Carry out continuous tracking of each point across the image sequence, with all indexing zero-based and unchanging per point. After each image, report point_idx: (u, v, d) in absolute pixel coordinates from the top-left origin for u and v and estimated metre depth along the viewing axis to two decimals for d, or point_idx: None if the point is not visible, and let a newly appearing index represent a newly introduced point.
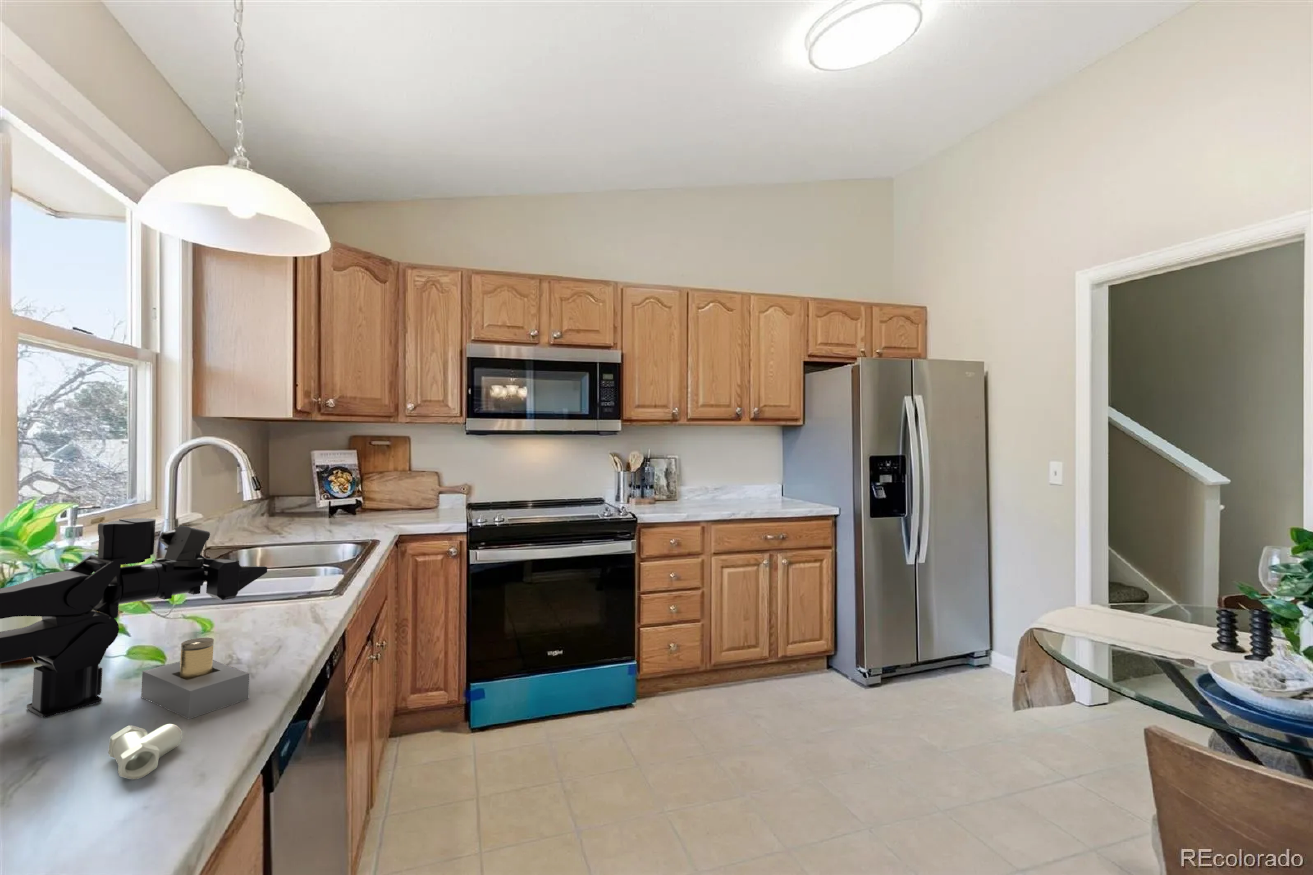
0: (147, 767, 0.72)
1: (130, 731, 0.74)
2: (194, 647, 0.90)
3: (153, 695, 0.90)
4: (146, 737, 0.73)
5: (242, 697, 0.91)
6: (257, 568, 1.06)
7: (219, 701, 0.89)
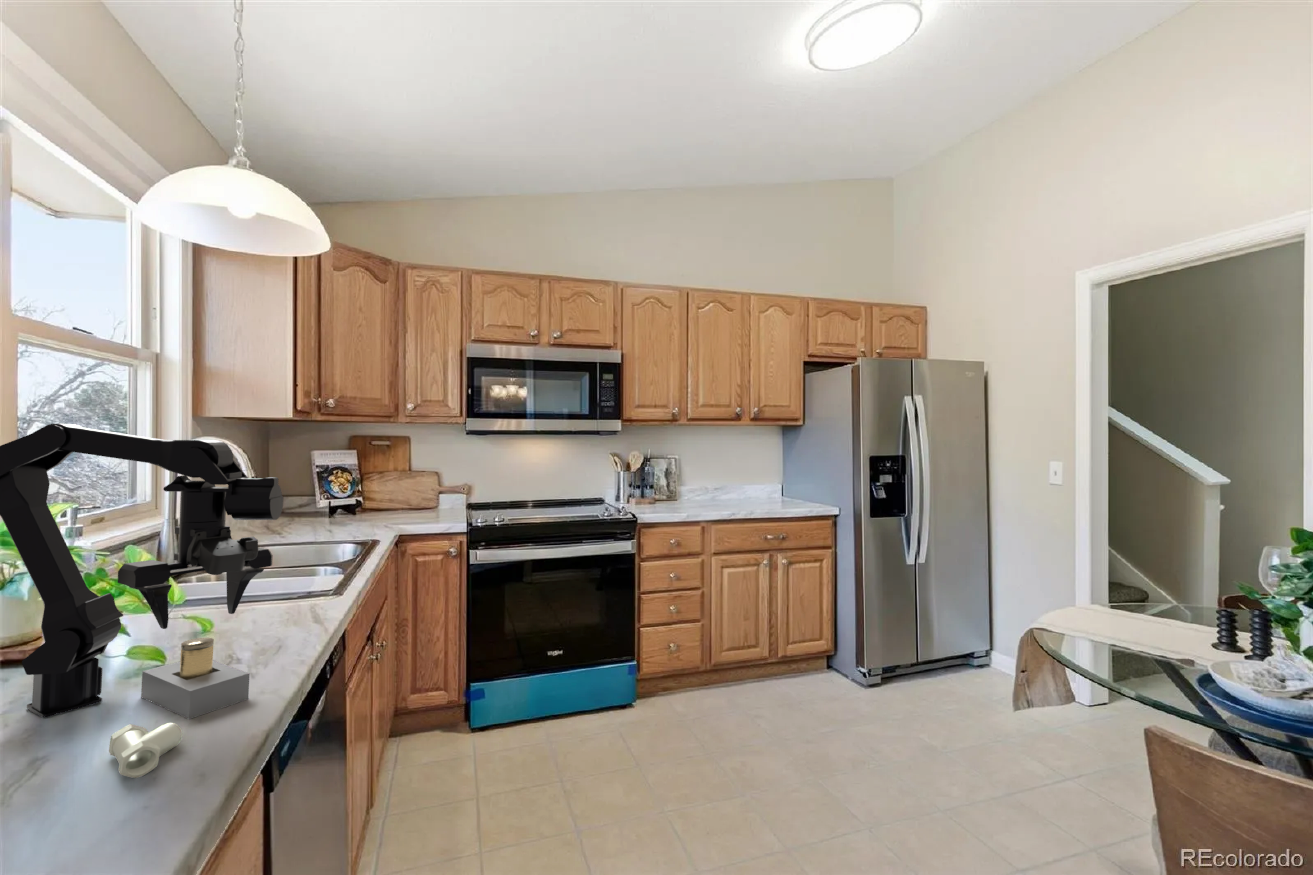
0: (147, 765, 0.72)
1: (131, 730, 0.75)
2: (194, 647, 0.90)
3: (153, 695, 0.90)
4: (147, 736, 0.74)
5: (242, 697, 0.91)
6: (160, 616, 0.87)
7: (219, 701, 0.89)
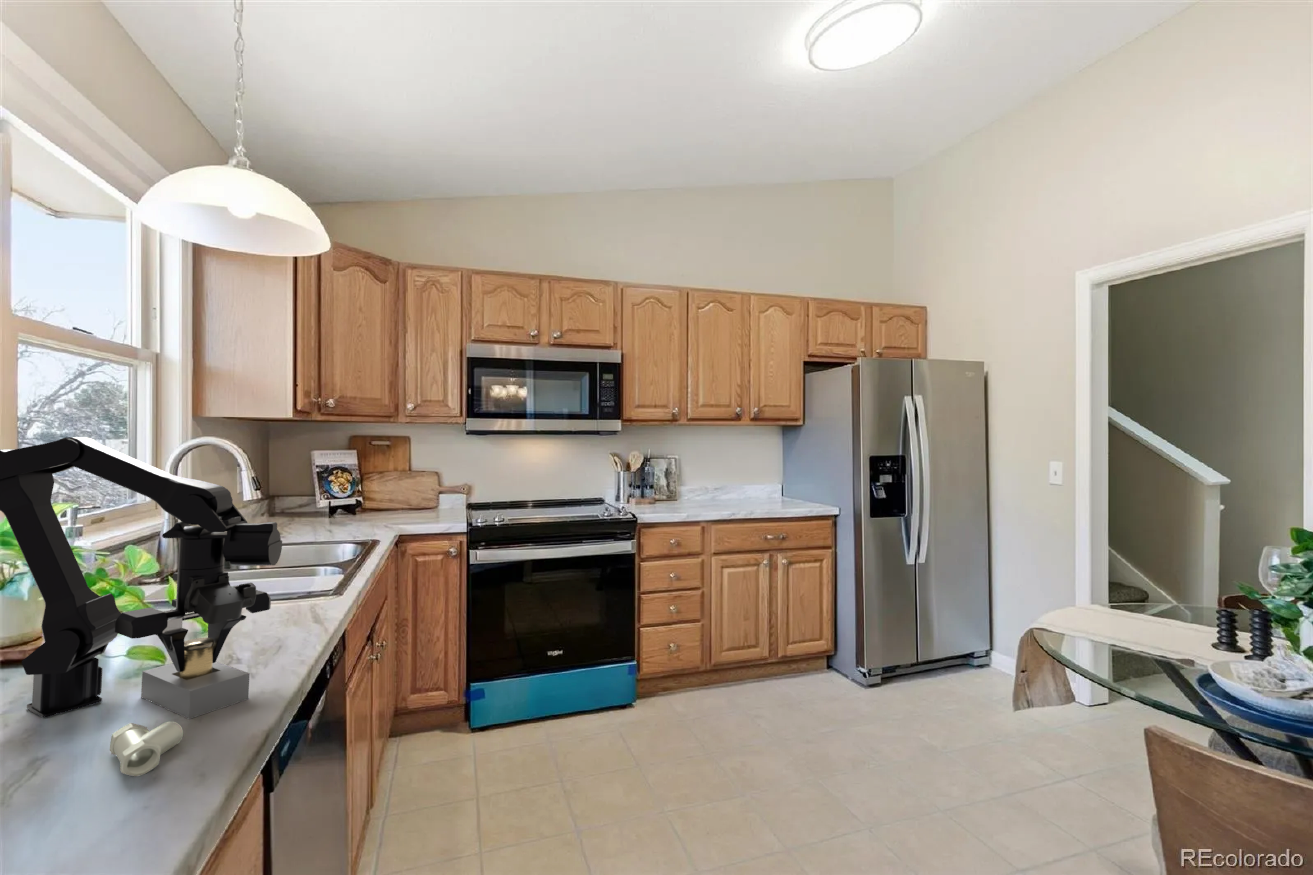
0: (148, 764, 0.72)
1: (131, 729, 0.75)
2: (194, 647, 0.90)
3: (153, 695, 0.90)
4: (147, 734, 0.74)
5: (242, 697, 0.91)
6: (176, 660, 0.89)
7: (219, 701, 0.89)
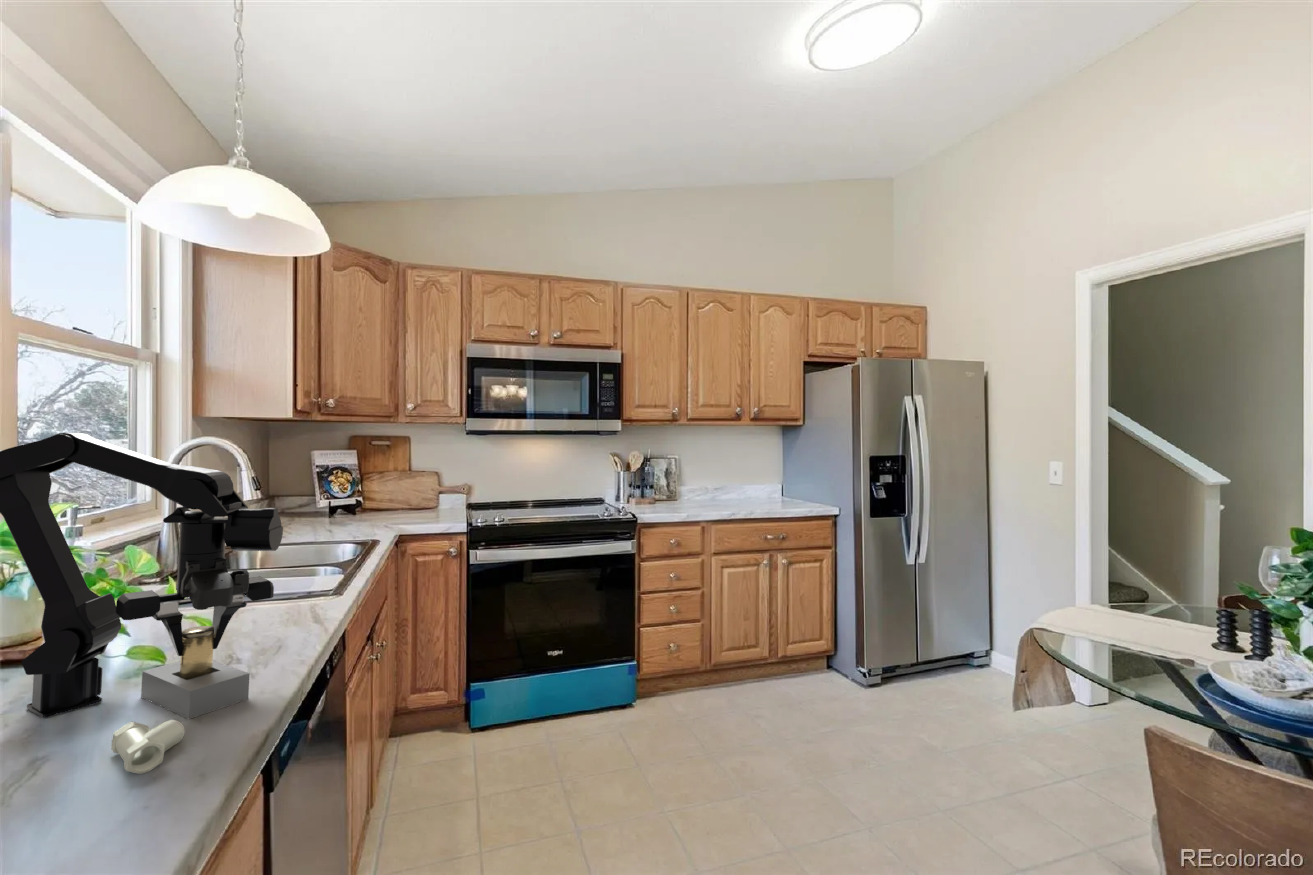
0: (152, 761, 0.73)
1: (133, 727, 0.76)
2: (195, 635, 0.90)
3: (153, 695, 0.90)
4: (150, 732, 0.75)
5: (242, 697, 0.91)
6: (174, 643, 0.89)
7: (219, 701, 0.89)
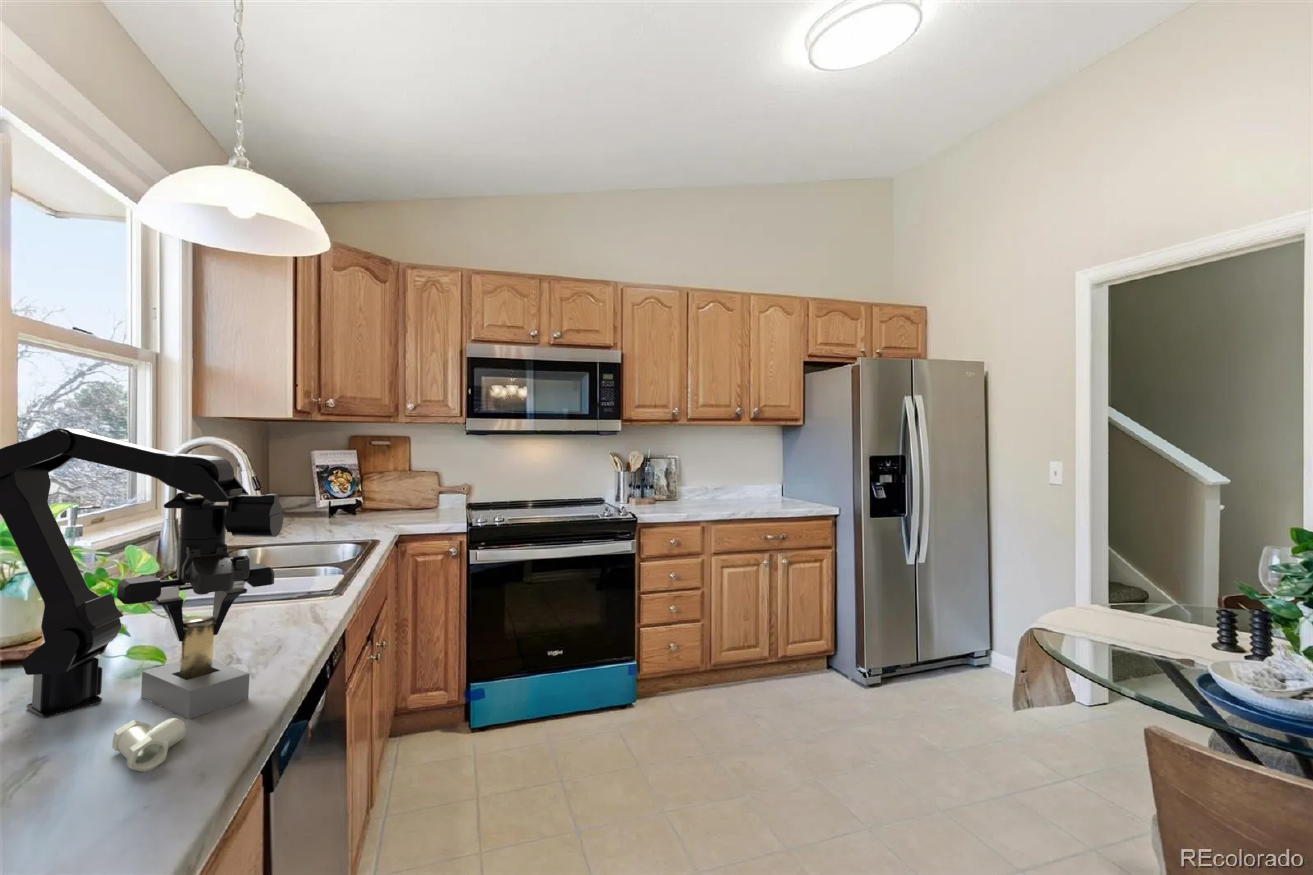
0: (155, 759, 0.73)
1: (135, 726, 0.76)
2: (195, 624, 0.90)
3: (153, 695, 0.90)
4: (152, 731, 0.75)
5: (242, 697, 0.91)
6: (175, 629, 0.89)
7: (219, 701, 0.89)
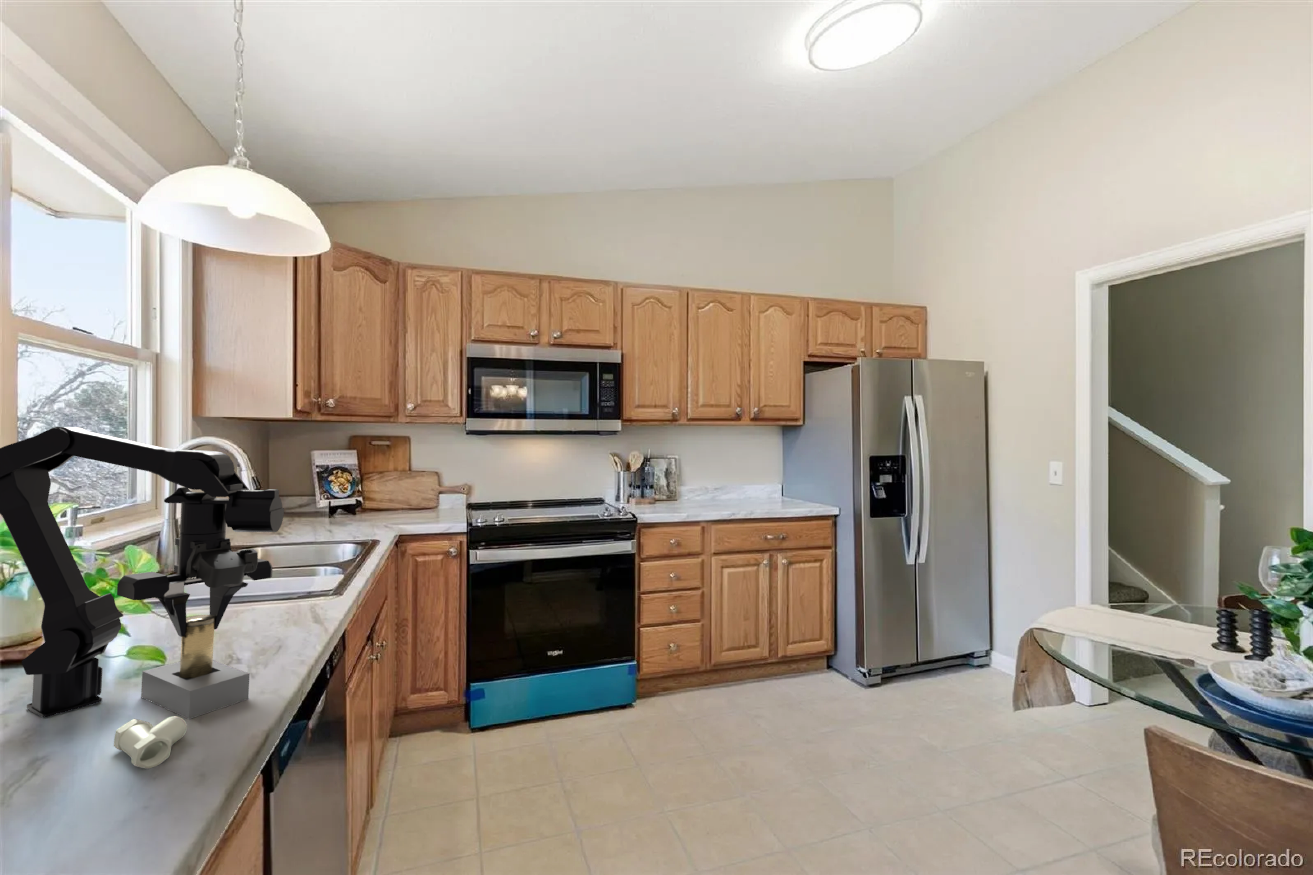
0: (159, 756, 0.74)
1: (136, 724, 0.76)
2: (195, 623, 0.90)
3: (153, 695, 0.90)
4: (155, 729, 0.76)
5: (242, 697, 0.91)
6: (178, 624, 0.89)
7: (219, 701, 0.89)
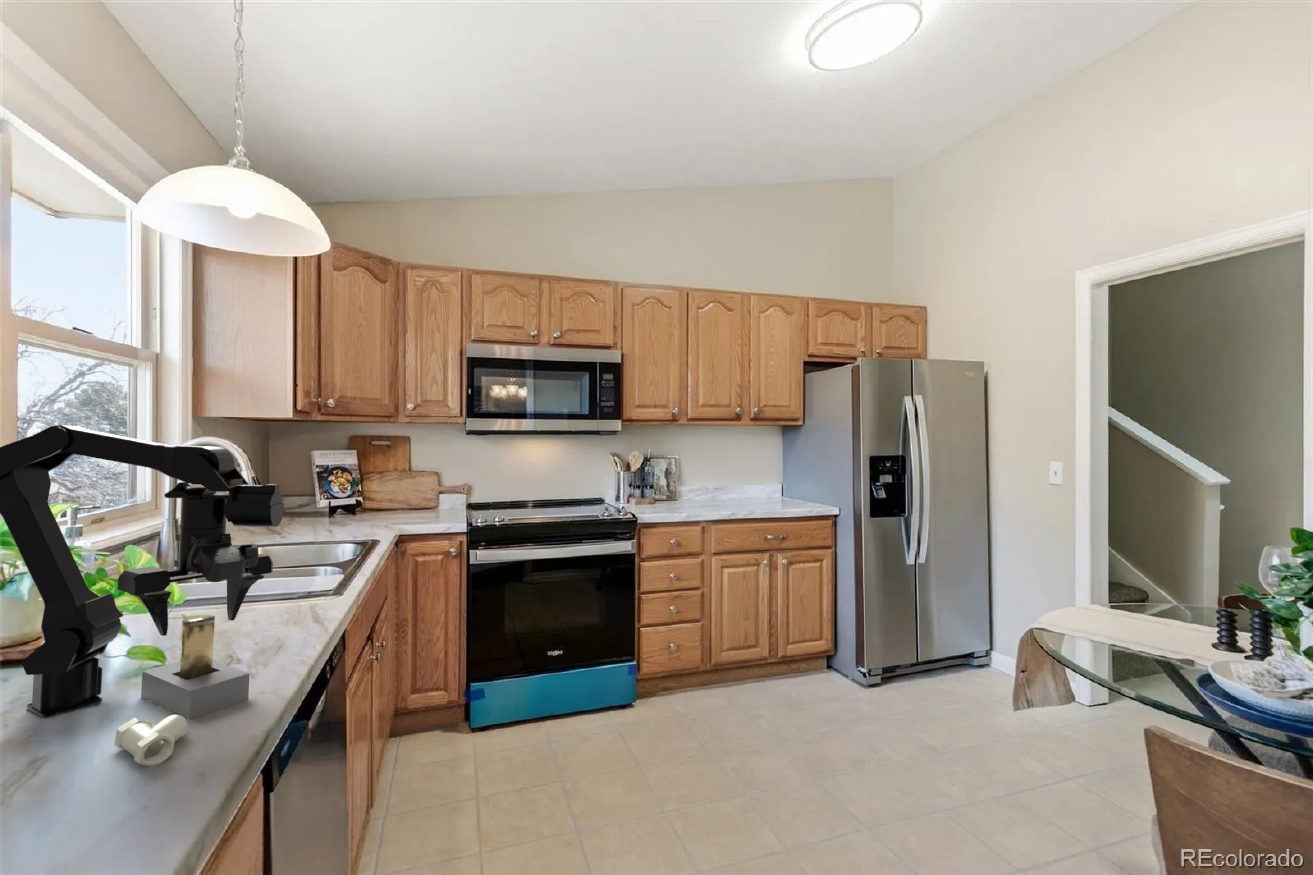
0: (161, 754, 0.75)
1: (138, 723, 0.77)
2: (195, 623, 0.90)
3: (153, 695, 0.90)
4: (157, 727, 0.76)
5: (242, 697, 0.91)
6: (159, 623, 0.87)
7: (219, 701, 0.89)
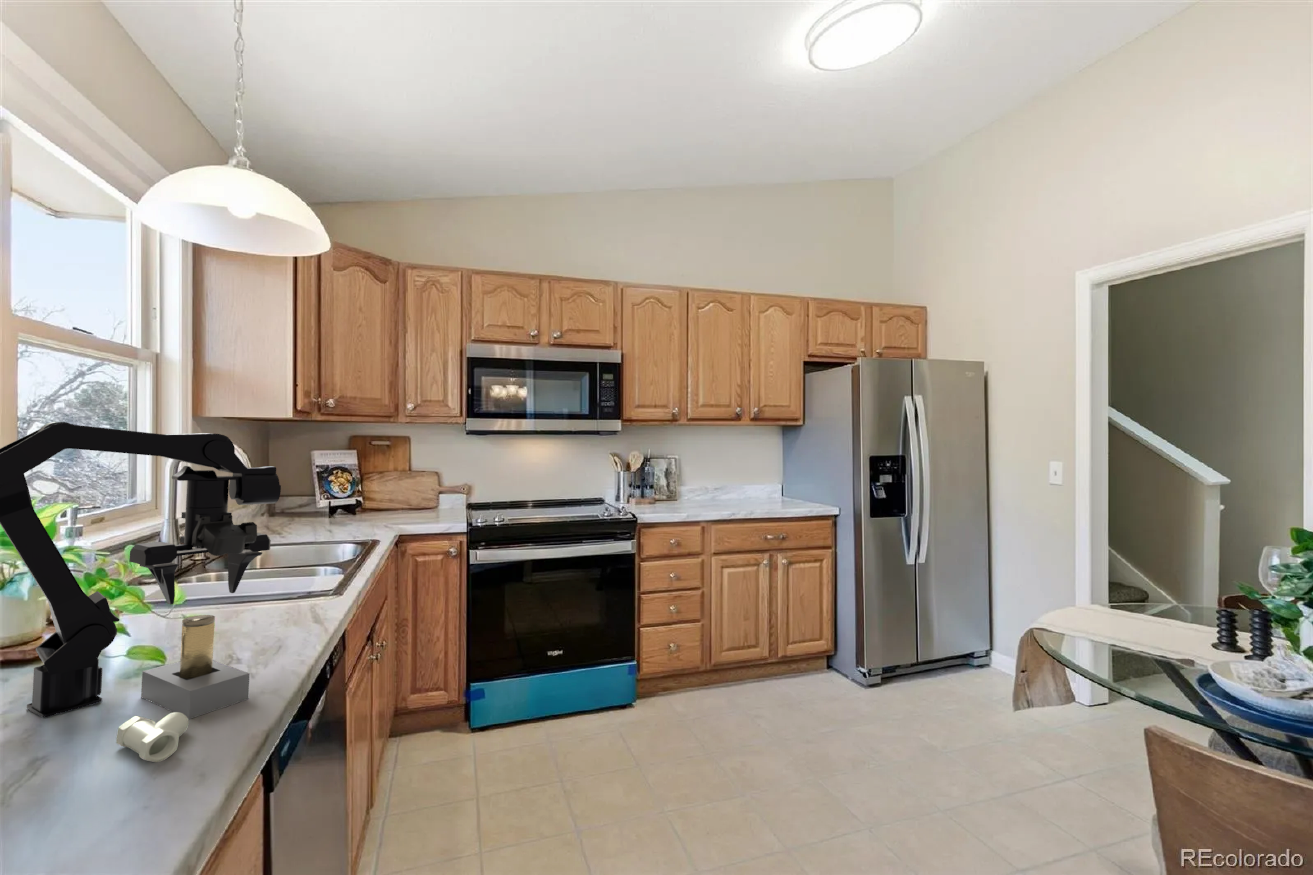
0: (166, 750, 0.75)
1: (139, 720, 0.77)
2: (195, 623, 0.90)
3: (153, 695, 0.90)
4: (160, 724, 0.77)
5: (242, 697, 0.91)
6: (167, 592, 0.96)
7: (219, 701, 0.89)
